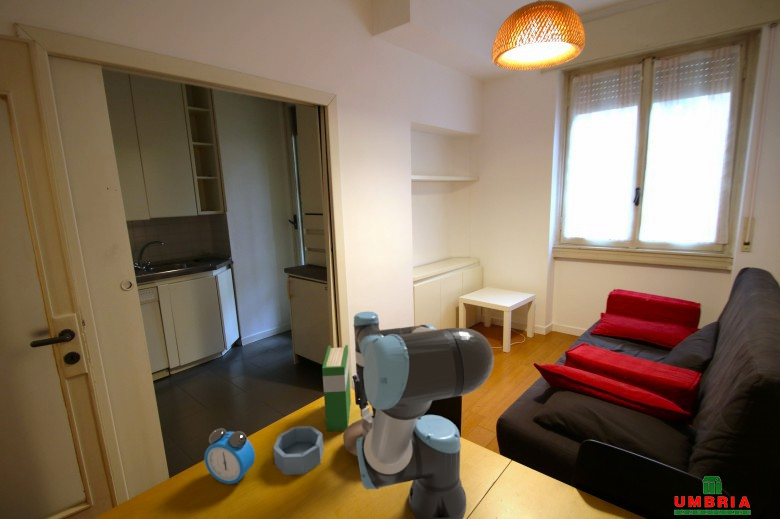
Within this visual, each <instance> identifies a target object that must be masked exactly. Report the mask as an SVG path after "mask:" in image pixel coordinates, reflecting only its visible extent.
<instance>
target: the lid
mask: <svg viewBox="0 0 780 519" xmlns="http://www.w3.org/2000/svg"><path fill="white" fill-rule="evenodd" d="M372 415H373V411H369V414H367V415H365V416H364V417H361V418H360V419H358V420H356V421H354V422H353V423H351V424H349V425H348V428H347V429H346V430H344V432H343V437H342V439H343V440H342V441H343V446H344V448H345V450H346V451H347V452H349V453H350V454H352V455H354V456H357V457H358V454H357V446H356V445H357V444H356V441H357V439H358V438H360V437H362V436H367V434H368V432H369V431H370V430H371V429H372V417H371V416H372Z"/></svg>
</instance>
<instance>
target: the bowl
mask: <svg viewBox="0 0 780 519" xmlns="http://www.w3.org/2000/svg"><path fill="white" fill-rule="evenodd" d="M272 449H273V457H274V465H275V466H276V468H278V470H280V472H282V474H283V475H284V476H288V475H289V476H290V475H306V474H307V473H308V472H310V471H311V470H313V469H315V468H316V467H317V466H319V465H321V464H322V459H323V455H324V436H323V433H322V432H321V431H320V430H318V429H317V428H316V427H314V426H313V425H306V426H305V425H301V426H300V425H299V426H297V425H296V426H293V427H292V428H289V429H288V430H285V431H284V432H282V433H279V435H278V436H277V439H276V441H275V443H274V446H273V448H272Z"/></svg>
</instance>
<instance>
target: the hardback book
mask: <svg viewBox="0 0 780 519" xmlns="http://www.w3.org/2000/svg"><path fill="white" fill-rule="evenodd" d="M349 358H350V357H349V344H345V346H344V347H332V345H328V346H327V350H326V354H325V357H324V361H323V364H322V368H321V372H322V382H323V384H322V385H323V398H324V401H323V402H324V414H325V415H324V416H325V430H326V432H334V431H336V432H337V431H345V430H346V429H347V428H348V426H349V420H350V413H351V404H352V399H351V381H350V380H351V377H350V362H349V361H350V359H349Z"/></svg>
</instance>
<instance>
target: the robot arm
mask: <svg viewBox="0 0 780 519" xmlns="http://www.w3.org/2000/svg"><path fill="white" fill-rule="evenodd" d="M352 326H353V332H354V346H355V347H354V349H355V350H354V351H355V352H354V354H355V356H354V357H355V371H356V372H355V373H356V374H354V375H352V381H353V386H354V390H353V391H354V401H355V402H354V403H355V405H356V406H359V409H360V417H361V418H362V417H364V416H365V415H367V414H369V413H370V406H371V410H372V411H371V412H372V413H373V415H372V416H371V417H372V429H371V430H370V431H369V432H368V434H367V436H362V437H360V438H358V439H357V441H356V444H357V445H356V446H357V454H358V456H357V459H358V466H359V467H358V468H359V472H360V478H361V483H362V484H361V485H362V486H363V488H364V489H365V490H379V489H380V488H383V487H385V488H386V487H389V486H394V485H397V484H404V483H407V482H411V484H410V488H409V492H408V502H409V503H408V505H409V507H410V508H409V509H410V510H411V512H412V514H413V515H414V516H415V518H416V519H462V518H463V517H464V516H465V514H466V510H467V494H466V491H465V489H464V486H463V485H462V481H461V477H460V473H461V448H462V443H461V436H460V430H459V429H458V427H457V426H456V424H454V422H452V421H451V420H449V419H448V418H446V417H443V416H441V415H437V414H436V415H435V414H426V415H425V413H427V411H428V410H429V409H430V407H431V405H432V403H433V401H437V400H443V399H449V398H454V397H455V398H456V397H460V396H461V397H462V396H465V395H467V394H471V393H473V392H475V391H476V390H478V389H480V388H481V387H482V386H483V385H484V384H485V383H486V381H488V379H489V377H490V375H491V374H492V372H493V368H494V362H495V360H494V359H495V357H494V351H493V348H492V345H491V343H490V342H489V341H488V339H487V338H486V337H485V336H484V335H483V334H482V333H481V332H479V331H476V330H475V329H470V328H465V327H447V328H442V329H441V328H440V329H437V328H436V326H434V325H433V324H420V325H413V326H406V327H405V326H404V327H395V328H387V329H380V321H379V315H378V314H377V313H375V312H374V311H361V312H358V313H356V314H355V315H353V325H352Z"/></svg>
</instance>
